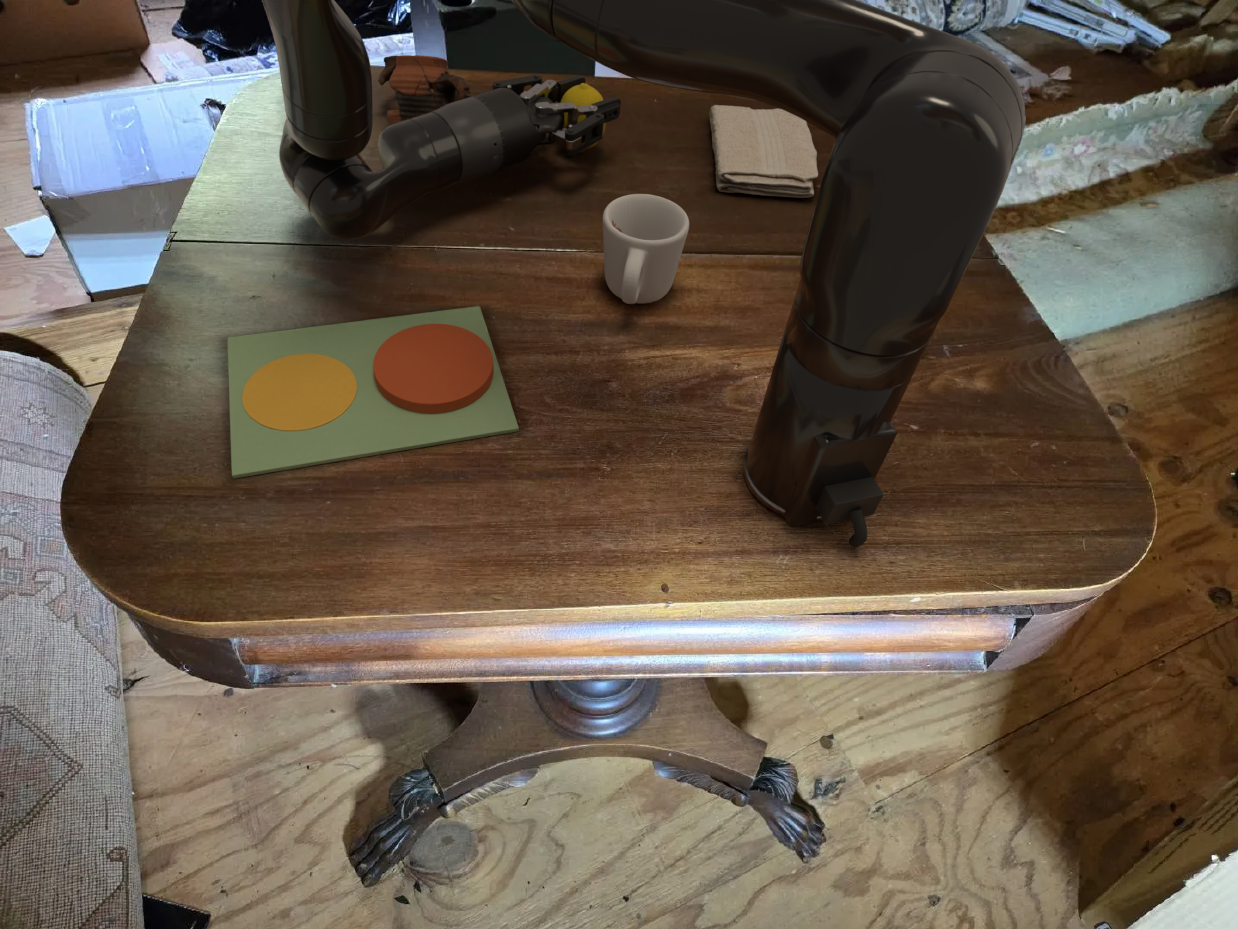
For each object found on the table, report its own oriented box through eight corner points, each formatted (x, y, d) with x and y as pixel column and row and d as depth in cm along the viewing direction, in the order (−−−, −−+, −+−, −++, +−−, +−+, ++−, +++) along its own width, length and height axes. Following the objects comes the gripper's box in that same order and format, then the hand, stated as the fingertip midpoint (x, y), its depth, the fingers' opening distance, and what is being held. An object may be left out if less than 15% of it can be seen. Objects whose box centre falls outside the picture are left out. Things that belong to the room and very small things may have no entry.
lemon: (602, 165, 98) (608, 97, 92) (554, 161, 98) (557, 92, 92) (604, 141, 102) (610, 74, 96) (557, 137, 101) (560, 69, 95)
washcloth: (715, 196, 96) (720, 171, 93) (704, 118, 108) (708, 94, 105) (818, 204, 97) (826, 179, 94) (797, 125, 108) (803, 102, 106)
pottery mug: (364, 132, 99) (358, 53, 96) (412, 135, 107) (408, 64, 105) (452, 132, 95) (449, 50, 92) (495, 136, 103) (493, 61, 101)
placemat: (518, 431, 70) (518, 418, 69) (232, 478, 64) (227, 465, 63) (479, 309, 80) (479, 295, 78) (228, 340, 74) (223, 326, 73)
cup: (665, 339, 79) (677, 268, 73) (582, 322, 80) (587, 250, 74) (683, 271, 86) (695, 201, 80) (606, 256, 87) (612, 186, 81)
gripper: (521, 130, 82) (647, 87, 90) (435, 72, 88) (560, 37, 97) (521, 200, 88) (640, 153, 96) (440, 140, 94) (558, 101, 102)
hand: (599, 95), depth 96 cm, fingers closed on lemon, 5 cm apart
